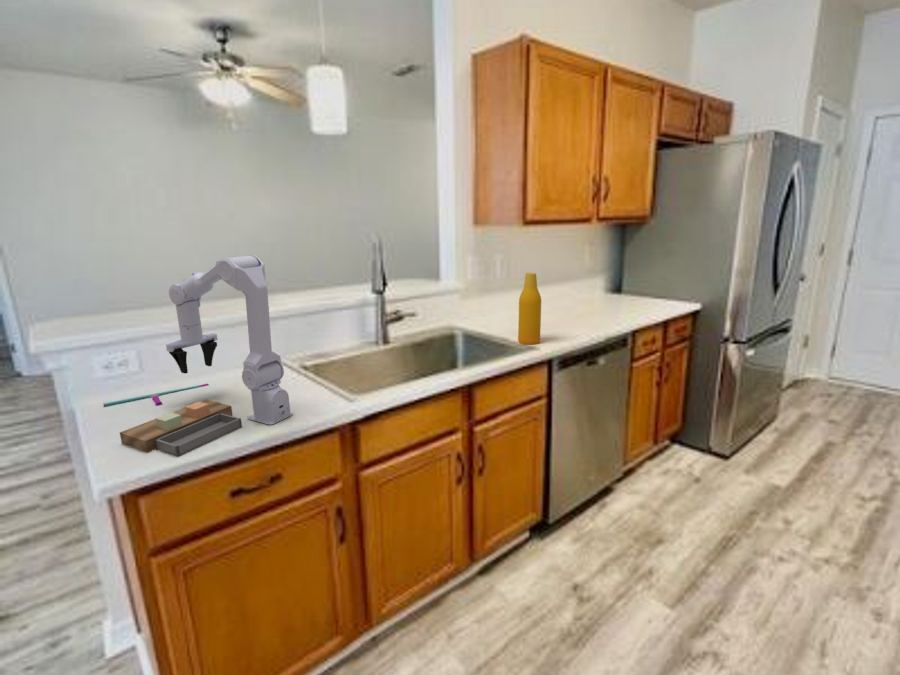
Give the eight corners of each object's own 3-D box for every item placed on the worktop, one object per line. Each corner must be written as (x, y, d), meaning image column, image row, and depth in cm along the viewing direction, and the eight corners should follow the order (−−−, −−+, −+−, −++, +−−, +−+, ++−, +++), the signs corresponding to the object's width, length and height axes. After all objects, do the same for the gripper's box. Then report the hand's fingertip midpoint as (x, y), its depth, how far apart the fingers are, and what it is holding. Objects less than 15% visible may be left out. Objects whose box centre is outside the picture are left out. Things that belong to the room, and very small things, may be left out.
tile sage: (182, 424, 126) (180, 415, 125) (167, 430, 122) (165, 421, 122) (172, 421, 127) (170, 412, 127) (157, 427, 124) (155, 418, 123)
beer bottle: (543, 340, 210) (545, 272, 203) (535, 346, 202) (537, 275, 195) (523, 338, 215) (524, 271, 207) (514, 343, 207) (515, 274, 200)
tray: (241, 427, 130) (240, 418, 130) (178, 456, 115) (176, 446, 114) (221, 421, 134) (219, 412, 134) (156, 449, 119) (154, 439, 118)
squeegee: (106, 412, 138) (103, 402, 146) (107, 418, 139) (104, 407, 146) (215, 390, 156) (207, 382, 163) (216, 395, 156) (208, 387, 164)
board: (232, 415, 138) (231, 405, 137) (147, 452, 117) (145, 441, 117) (207, 409, 143) (206, 399, 142) (121, 443, 122) (119, 432, 121)
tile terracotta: (209, 412, 132) (208, 404, 132) (196, 418, 129) (195, 409, 128) (200, 410, 134) (198, 401, 134) (186, 415, 131) (185, 406, 130)
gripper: (204, 318, 151) (210, 360, 155) (157, 328, 139) (164, 374, 143) (219, 320, 148) (225, 364, 151) (171, 330, 136) (179, 377, 139)
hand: (196, 369), depth 147 cm, fingers open, 7 cm apart
